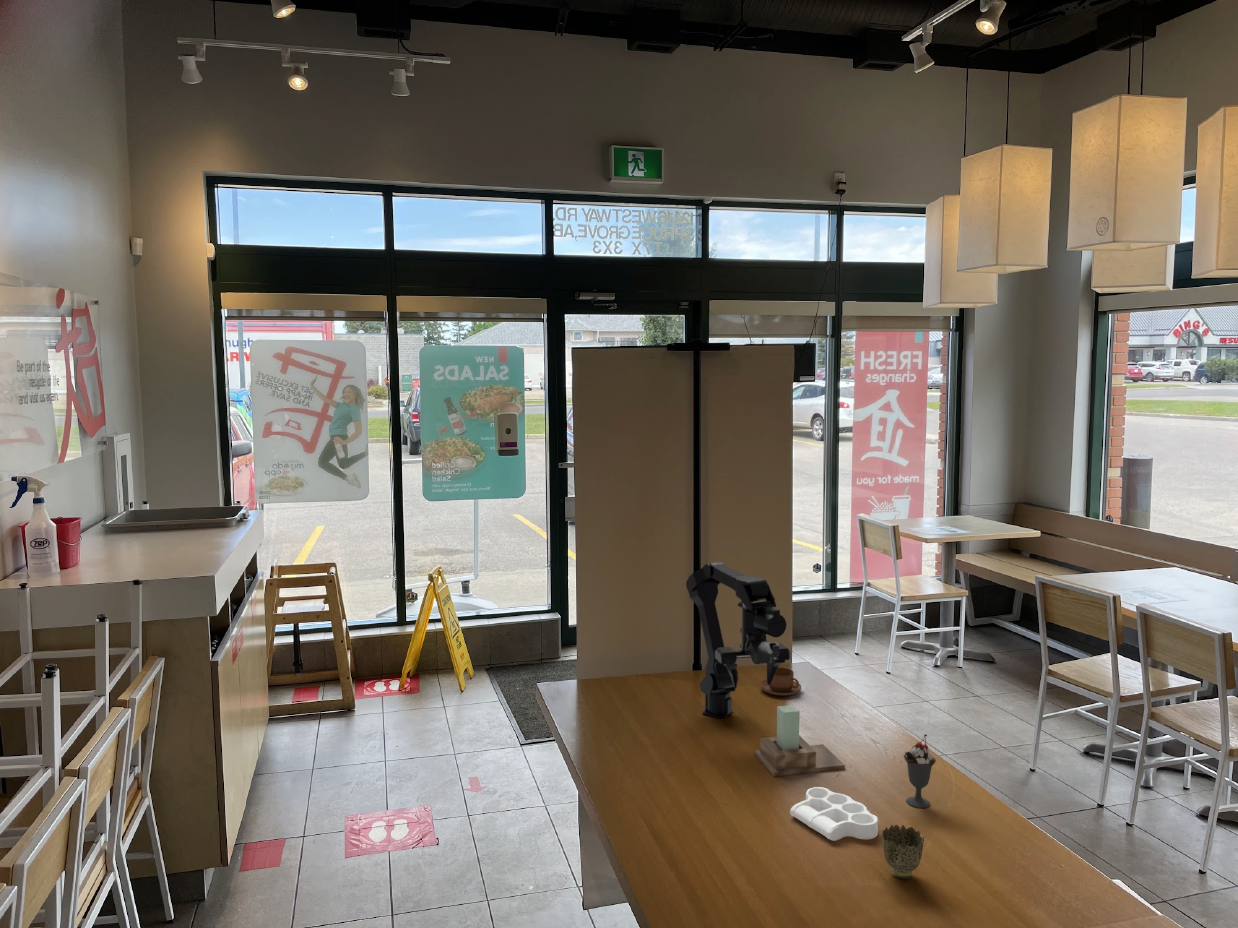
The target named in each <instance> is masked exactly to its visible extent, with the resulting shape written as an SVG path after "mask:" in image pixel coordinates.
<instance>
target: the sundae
mask: <svg viewBox="0 0 1238 928" xmlns="http://www.w3.org/2000/svg"><path fill="white" fill-rule="evenodd" d="M926 737H928V734H923V738H922V739H921V741H917V742H916V744H915V745H912V747H911V748H910V750H909V751H905V752H904V754H903V758H904V760H905V762H906V764H907V775H908V780H909V783H910V784H911V785H912V786H913V787H914V788H915V794H914V796H909V797H907V798H906V800H905V802H906V803H907V805H909V806H911V807H912V808H916V809H926V808H929V807H930V806H931V802H930V801H929V800H928V799H926V798H924V797H922V789H923V788H926V787H927V786H928V784H929V782H930V779H931V772H932V767H933V766H934V765H935V763H936V762H937V760H936V758H935V757H933V755H932V753H931V752H930V750H928V749H929V746H928V745H927V740H926V739H927V738H926ZM923 741H924V744H923V743H922V742H923Z"/></svg>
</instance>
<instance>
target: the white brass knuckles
mask: <svg viewBox="0 0 1238 928" xmlns="http://www.w3.org/2000/svg"><path fill="white" fill-rule="evenodd" d="M789 814H790V815H791V816H792V817H793V818H796V819H797V820H798V821H800V822H801V823H803V824H805V825H807V826H808V827H809V828H811V829H813V830H814V831H816V832H818V833H819V834H820V835H822V836H824V837H826V838H827V840H830V841H832V842H836V841H838V840H841V839H843V838H845V837H851V838H852V837H853V838H855V839H860V840H873V839H875V838H876V837H877V836H878V831H879V818H878V816H876V815H874V814H873V813H871V811H870V810H868V807H867V806H865V805H864V804H863V803H862V802H858V801H856V800H854V799H853V798H851V796H850V795H849V796H848V795H847V794H843V793H839V792H834V791H831V790H830V789H828V788H826V787H822V786H814V787H810V788H808V789H807V790H806V791H805V800H801V801H800V802H798V803H796V804H794V805H793V806H792V807H791V808H790V810H789Z"/></svg>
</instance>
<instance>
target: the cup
mask: <svg viewBox="0 0 1238 928" xmlns="http://www.w3.org/2000/svg"><path fill="white" fill-rule="evenodd" d="M881 835H882V847H883V854H884V855H883V856H884V859H885V860H886V863H887V864H888V865H889V867H891V869H890V870H891V872H892V875H893V876H894V877H896V878H897V879H900V880H908V879H910V878H911V876H912V875H913V871H915V870H916V869H917V868H918V866H919V865H920V863H921V860H922V854H923V849H924V848H923V847H924V842H925V836H921V832H920V830H917V831H916V829H915V828H914V827H912V826H910V827H907V828H906V826H905V825H903V824H902V826H901V827H900V826H899V825H897V824H895V825H894V826H893V824H891V825H890V827H889V828H888V827H887V826H885V829H882V830H881Z"/></svg>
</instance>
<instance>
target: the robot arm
mask: <svg viewBox="0 0 1238 928" xmlns="http://www.w3.org/2000/svg"><path fill="white" fill-rule="evenodd" d="M720 584H722V585H724V586H726V587H728V588H729V589H732V590H733V591H734V592H735V597H737V598H738V599H739V600H740V601H739V602H738V603H737V606H738V607H739V608H741V628H740V629H739V632H740V634H741V643H740V645H739V648H740V649H741V650H735V649H733V648H732V647H731V646H725V642H724V638H723V634H722V629H721V624H720V621H719V616H718V615H719V614H718V610H717V605H716V600H717V598H718V595H719V586H720ZM685 585H686V589H687V592H688V596H689V598H690V599H691V601H692V602H693V603H694V604H695V605H696V607H697V608H698V612H699V619H700V623H701V628H702V632H703V637H704V642H705V647H706V648H705V649H706V653H707V658H708V659H707V662H706V664H705V668H704V671H705V676H704V677H703V678H702V680H701V681H700V682H699V689H700V692H702V693H703V694H705V695H704V697H705V698H704V700H705V701H704V710H703V711H702V714H703V715H706V716H710V717H714V718H718V719H724V718H726V717H727V716H729V715H730V714H732V713H733V712H734V710H733V705H732V704H733V698H732V697H731V692H736V688H737V687H738V682H739V672H738V664H737V663H736V662H737V660H738V659H745V658H751V661H752V663H753V664H755V665H762V664H766V680H767V684H768V685H770V684H771V682H772V679H773V677H774V674H775V672H776V670H777V668H779V667H780V666H781V665H782V664H785V663H786V661H790V660H791V649H789V648H788V647H787V646H786V645H784V644H783V643H782V642H781V643H778V642H768V640H767V636H770V637H772V638H779V637H781V636H782V635H783V634H784V633H785V631H787V621H786V619H785V617H784V616H783V615H781V610H780V609H779V608H776V607H777V604H776V598H775V597H774V595H773V592H772V590H771V588H770V585H769V584H768V581H767V580H766V579H765V578H763V577H758V576H749V575H745V574H743V573H741V572H739V571H737V570H735V569H734V568H732V567H730V566H728V565H726V564H725V563H724V562H722V561H712V562H707V563H706V564H704V566H702V567H701V568H700V569H698V570H696V571H694V572H693V573H691V574H690V575H689V577H688V579H687V580H686V583H685Z"/></svg>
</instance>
